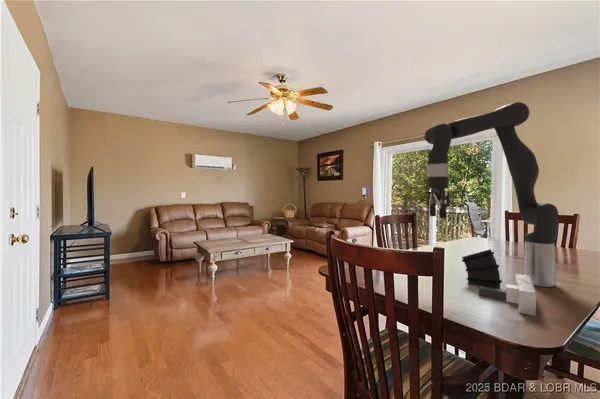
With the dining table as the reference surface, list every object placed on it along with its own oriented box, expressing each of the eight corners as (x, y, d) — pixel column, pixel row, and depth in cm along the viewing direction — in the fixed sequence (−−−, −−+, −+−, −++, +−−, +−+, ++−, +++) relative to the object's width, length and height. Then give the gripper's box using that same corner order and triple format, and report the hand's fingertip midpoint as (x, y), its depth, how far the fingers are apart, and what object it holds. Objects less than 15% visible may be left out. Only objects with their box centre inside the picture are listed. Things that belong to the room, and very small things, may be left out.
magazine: (506, 289, 103) (487, 250, 108) (472, 294, 113) (456, 258, 118) (511, 287, 105) (492, 248, 110) (476, 292, 115) (461, 257, 120)
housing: (518, 312, 86) (519, 290, 86) (515, 292, 104) (515, 273, 104) (535, 316, 84) (536, 293, 84) (529, 294, 102) (529, 275, 102)
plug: (478, 296, 100) (478, 282, 100) (479, 293, 103) (479, 279, 103) (524, 304, 93) (524, 290, 92) (523, 300, 96) (523, 286, 96)
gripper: (457, 174, 102) (456, 218, 102) (438, 177, 116) (438, 215, 117) (436, 175, 102) (436, 218, 103) (420, 177, 116) (420, 215, 117)
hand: (437, 217), depth 110 cm, fingers open, 8 cm apart
